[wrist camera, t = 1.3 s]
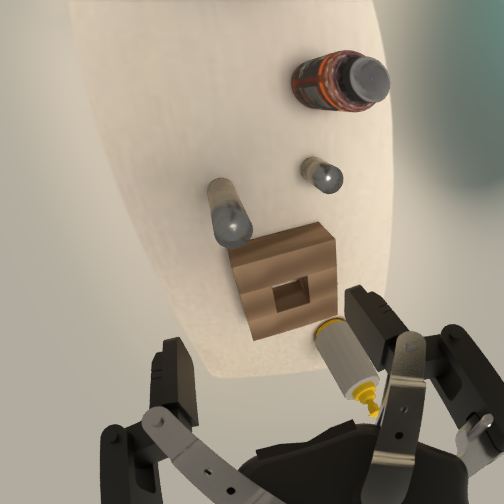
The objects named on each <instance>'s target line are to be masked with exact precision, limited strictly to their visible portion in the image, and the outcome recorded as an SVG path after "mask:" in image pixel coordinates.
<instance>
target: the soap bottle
mask: <svg viewBox="0 0 504 504" xmlns="http://www.w3.org/2000/svg"><path fill="white" fill-rule="evenodd" d="M315 344H316V347H317V349H318V351H319V352H320V354H321V356H322V358H323V359H324V361H325V363H326V365H327V366H328V368H329V370H330V372H331V374H332V375H333V377H334V379H335V380H336V382H337V384H338V386H339V388H340V389H341V391H342V393H343V395H344V397H345V398H346V399H348V400H353V399H355V400H356V401H360V402H361V403H362V404H368V410H369V412H370V415H369V416H371V417H377V416H378V413H379V410H380V408H379V407H378V405H377V404H376V403H374V402H373V400H374V399H375V396H376V395H375V393H374V392H375V391H376V386H377V385H378V383H379V380H380V378H379V376H378V374H377V373H376V371H375V369H374V367H373V365H372V363H371V361H370V359H369V357H368V355H367V354H366V352H365V350H364V349H363V347H362V346H361V344H360V342H359V341H358V339H357V338H356V336H355V334H354V333H353V331H352V330H351V328H350V326H349V325H348V323H347V322H345V321H343V320H340V319H333V320H330V321H328V322H326V323H325V324H323V325H322V326H321V327H320V328H319V329H318V331H317V333H316V340H315Z"/></svg>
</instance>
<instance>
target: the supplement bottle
mask: <svg viewBox="0 0 504 504" xmlns="http://www.w3.org/2000/svg"><path fill="white" fill-rule="evenodd" d="M292 86H293V91H294V93H295V95H296V97H297V98H298V99H299V101H300V102H301V103H303V104H304V105H305V106H307V107H309V108H313V109H318V110H333V111H345V112H361V111H365V110H367V109H369V108H370V107H372V106H373V105H374V104H375V103H376V102H380V101H382V100H383V99H384V98H385V97H386V96H387V94H388V92H389V89H390V78H389V75H388V72H387V70H386V68H385V67H384V66H383V65H382V64H381V63H380V62H379V61H378V60H376V59H374V58H372V57H366V56H364V55H362V54H361V53H358V52H355V51H350V50H344V51H338V52H335V53H331V54H328V55H325V56H322V57H319V58H316V59H313V60H310V61H307V62H305V63H303V64H302V65H300V66H299V67H298V68H297V69H296V71H295V72H294V75H293V79H292Z"/></svg>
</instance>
